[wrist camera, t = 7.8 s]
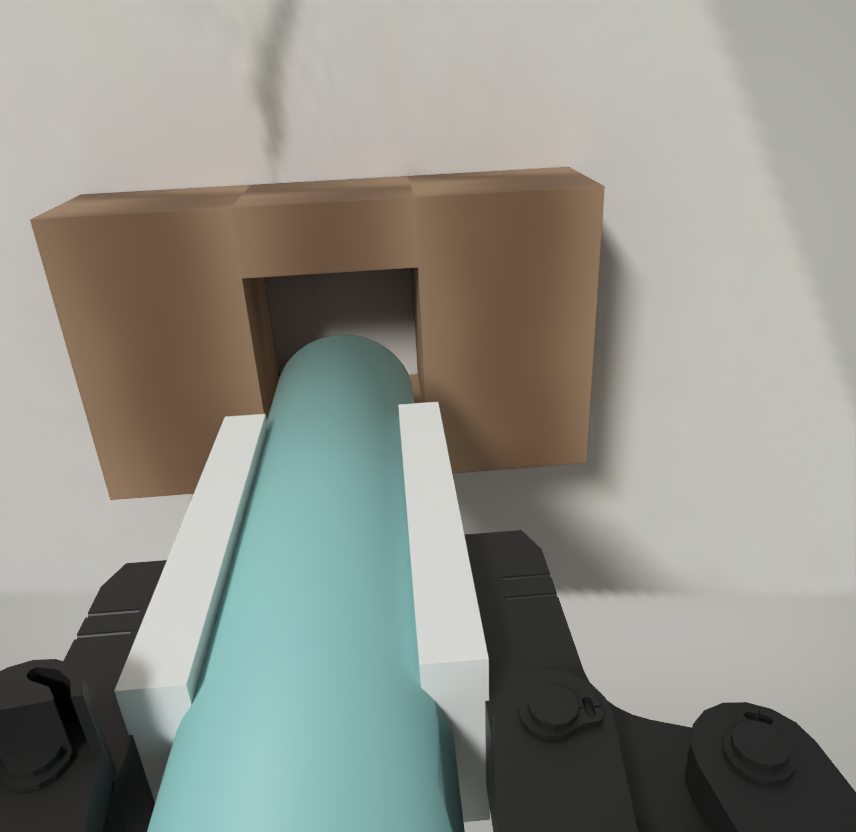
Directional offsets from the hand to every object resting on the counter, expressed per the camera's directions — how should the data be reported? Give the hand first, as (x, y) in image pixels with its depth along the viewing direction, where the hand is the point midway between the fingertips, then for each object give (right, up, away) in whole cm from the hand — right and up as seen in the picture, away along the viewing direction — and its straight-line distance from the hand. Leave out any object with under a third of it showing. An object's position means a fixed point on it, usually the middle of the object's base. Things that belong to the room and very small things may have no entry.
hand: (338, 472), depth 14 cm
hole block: (-1, +4, +8) cm, 10 cm away
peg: (0, +1, +3) cm, 3 cm away
